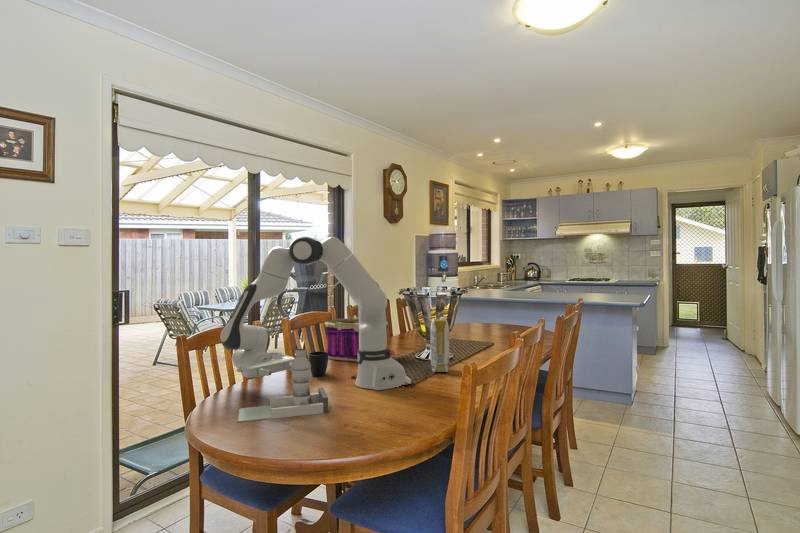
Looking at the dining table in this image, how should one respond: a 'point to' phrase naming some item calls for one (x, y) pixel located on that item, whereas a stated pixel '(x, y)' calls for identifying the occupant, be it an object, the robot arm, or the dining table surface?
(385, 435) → the dining table surface
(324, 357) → the mug
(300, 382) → the plastic bottle
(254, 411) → the pad
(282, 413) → the channel
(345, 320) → the basket
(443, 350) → the juice carton
